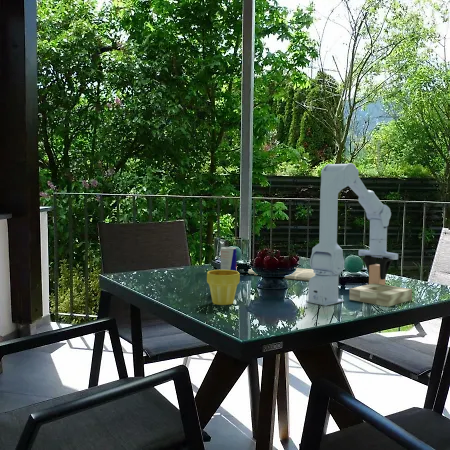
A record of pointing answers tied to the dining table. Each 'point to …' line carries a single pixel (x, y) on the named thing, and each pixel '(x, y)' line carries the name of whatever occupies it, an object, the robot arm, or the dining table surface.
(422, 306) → the dining table surface
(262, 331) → the dining table surface
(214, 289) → the plant pot
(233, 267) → the beverage can
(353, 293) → the socket block
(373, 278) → the peg
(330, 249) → the robot arm
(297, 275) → the newspaper
